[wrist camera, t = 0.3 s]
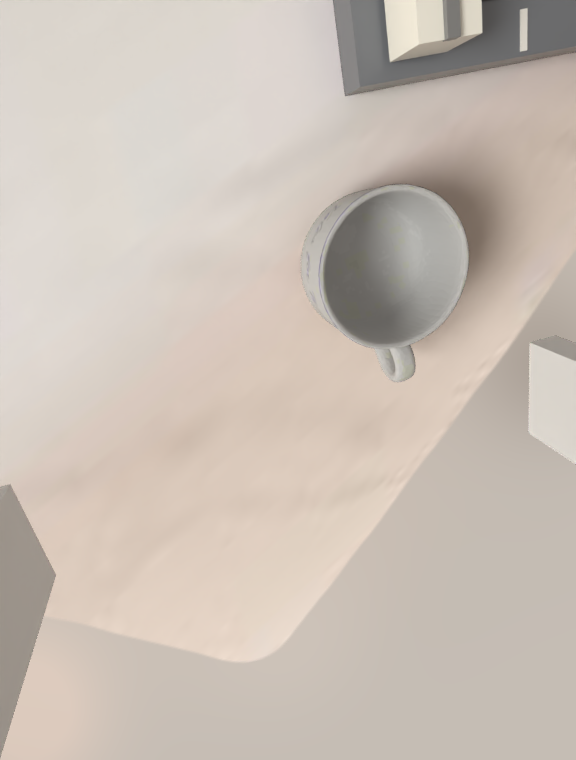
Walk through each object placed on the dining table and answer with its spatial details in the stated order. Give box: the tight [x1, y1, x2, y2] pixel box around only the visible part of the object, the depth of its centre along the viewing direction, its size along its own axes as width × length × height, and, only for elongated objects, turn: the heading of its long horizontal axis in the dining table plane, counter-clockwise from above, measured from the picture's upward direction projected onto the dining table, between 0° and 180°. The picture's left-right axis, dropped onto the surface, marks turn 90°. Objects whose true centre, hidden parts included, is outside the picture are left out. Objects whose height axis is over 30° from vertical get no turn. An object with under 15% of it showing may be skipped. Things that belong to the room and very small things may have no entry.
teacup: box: [301, 184, 469, 382], centre depth 36 cm, size 14×11×8 cm
